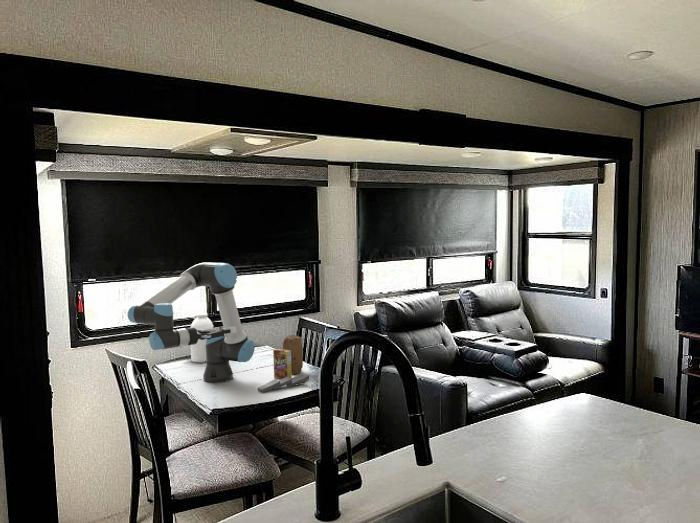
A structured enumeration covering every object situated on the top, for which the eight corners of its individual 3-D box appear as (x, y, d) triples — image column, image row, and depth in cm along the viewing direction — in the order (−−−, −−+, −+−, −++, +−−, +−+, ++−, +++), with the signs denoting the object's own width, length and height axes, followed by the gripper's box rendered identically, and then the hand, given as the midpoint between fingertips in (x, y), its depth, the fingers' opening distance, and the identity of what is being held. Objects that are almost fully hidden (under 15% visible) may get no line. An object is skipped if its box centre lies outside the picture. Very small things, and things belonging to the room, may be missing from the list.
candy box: (273, 378, 286) (272, 349, 284) (278, 376, 289) (277, 347, 288) (287, 380, 281) (286, 351, 280) (292, 378, 285) (291, 349, 284)
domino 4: (289, 379, 277) (301, 374, 285) (289, 382, 277) (301, 377, 285) (297, 380, 274) (309, 375, 282) (297, 383, 274) (309, 378, 282)
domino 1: (257, 387, 265) (275, 378, 270) (258, 390, 265) (276, 381, 270) (261, 390, 261) (279, 381, 266) (262, 393, 261) (280, 384, 266)
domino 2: (269, 384, 269) (287, 376, 273) (270, 387, 269) (288, 379, 274) (273, 387, 265) (291, 379, 269) (274, 390, 265) (292, 382, 269)
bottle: (195, 356, 332) (194, 311, 330) (217, 356, 332) (216, 311, 330) (187, 362, 318) (186, 315, 316) (211, 362, 318) (209, 315, 316)
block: (304, 373, 295) (303, 336, 293) (293, 375, 290) (292, 338, 288) (292, 369, 303) (291, 333, 301) (281, 371, 298) (280, 335, 296)
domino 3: (284, 380, 273) (302, 373, 276) (285, 383, 274) (303, 376, 277) (287, 384, 269) (305, 377, 272) (287, 387, 269) (306, 380, 272)
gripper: (181, 342, 244) (229, 335, 259) (192, 347, 234) (242, 340, 249) (180, 326, 243) (229, 319, 258) (192, 330, 233) (242, 323, 248)
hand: (235, 329), depth 253 cm, fingers closed
